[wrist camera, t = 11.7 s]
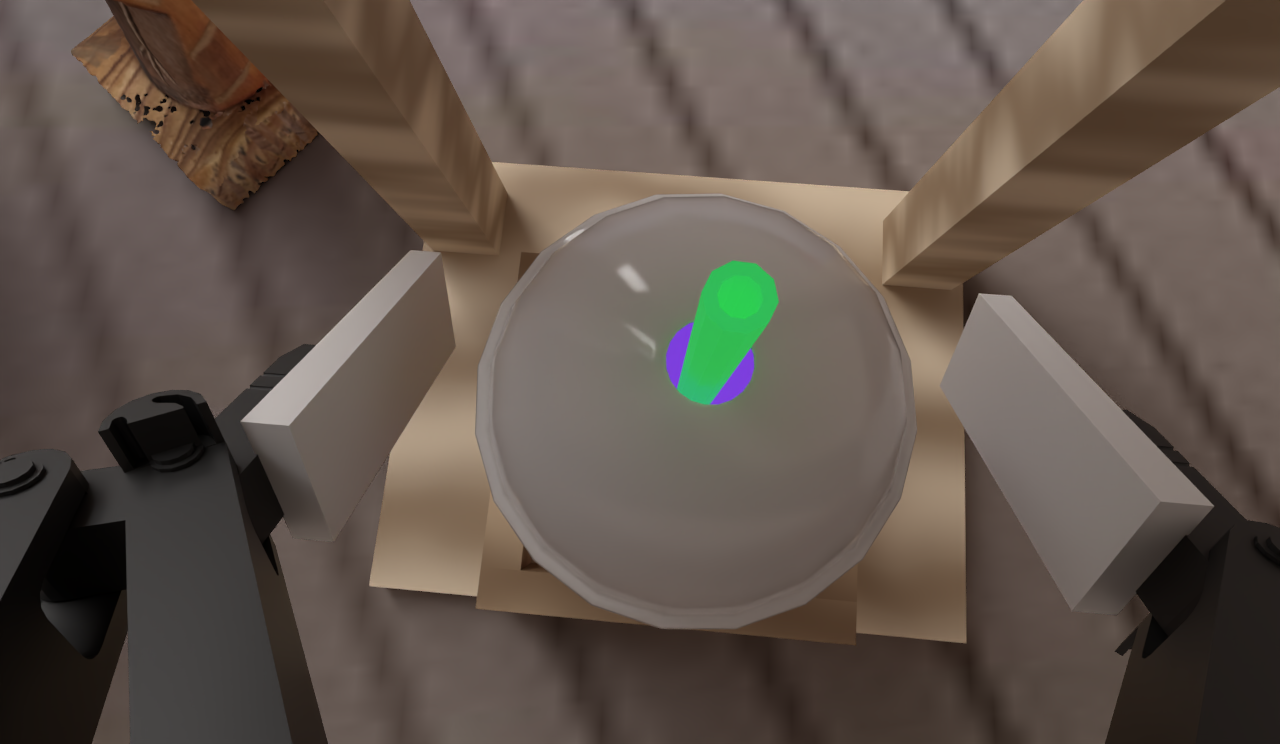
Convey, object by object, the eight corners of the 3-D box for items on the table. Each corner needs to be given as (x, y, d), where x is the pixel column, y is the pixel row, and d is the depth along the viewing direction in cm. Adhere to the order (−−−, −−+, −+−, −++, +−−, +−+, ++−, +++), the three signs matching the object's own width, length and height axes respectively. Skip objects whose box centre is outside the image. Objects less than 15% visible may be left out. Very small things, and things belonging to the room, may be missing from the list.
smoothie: (793, 374, 25) (1312, -10, 5) (743, 569, 24) (1185, 1039, 4) (607, 321, 26) (444, -197, 6) (548, 508, 24) (81, 649, 5)
